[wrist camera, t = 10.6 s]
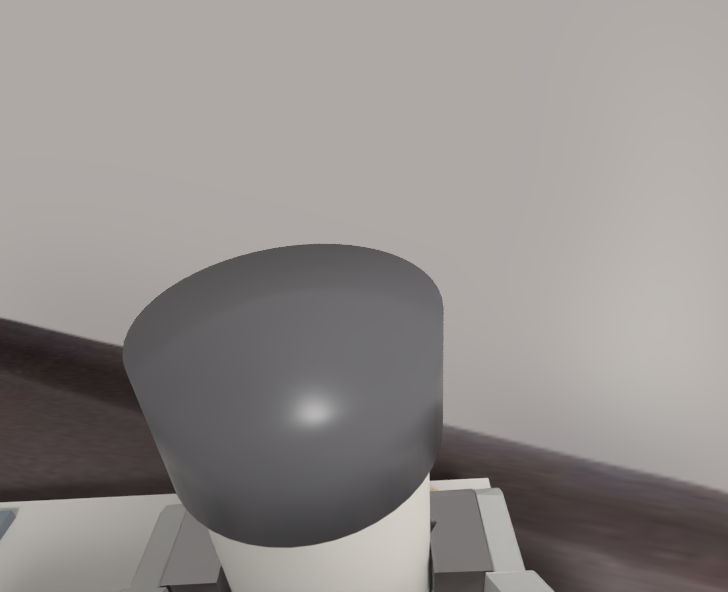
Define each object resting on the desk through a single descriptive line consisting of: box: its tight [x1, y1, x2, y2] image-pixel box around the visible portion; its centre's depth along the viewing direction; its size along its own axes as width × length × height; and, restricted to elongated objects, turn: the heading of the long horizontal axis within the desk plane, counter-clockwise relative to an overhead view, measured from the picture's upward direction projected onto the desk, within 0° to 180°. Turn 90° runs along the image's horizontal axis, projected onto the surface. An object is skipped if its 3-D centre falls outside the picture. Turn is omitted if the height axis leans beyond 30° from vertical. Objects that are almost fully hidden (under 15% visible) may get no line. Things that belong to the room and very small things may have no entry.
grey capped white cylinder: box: [122, 244, 443, 592], centre depth 9 cm, size 4×4×12 cm
